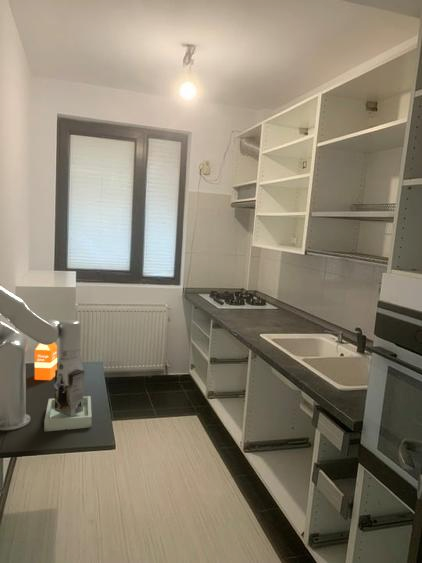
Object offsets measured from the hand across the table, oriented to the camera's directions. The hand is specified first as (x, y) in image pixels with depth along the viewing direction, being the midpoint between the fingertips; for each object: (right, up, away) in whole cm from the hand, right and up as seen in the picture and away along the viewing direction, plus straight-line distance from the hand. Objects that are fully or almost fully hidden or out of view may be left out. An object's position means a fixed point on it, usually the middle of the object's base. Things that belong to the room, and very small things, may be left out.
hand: (68, 398), depth 155 cm
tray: (0, -8, +1) cm, 8 cm away
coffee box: (0, -5, 0) cm, 5 cm away
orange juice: (-26, -2, +43) cm, 51 cm away
